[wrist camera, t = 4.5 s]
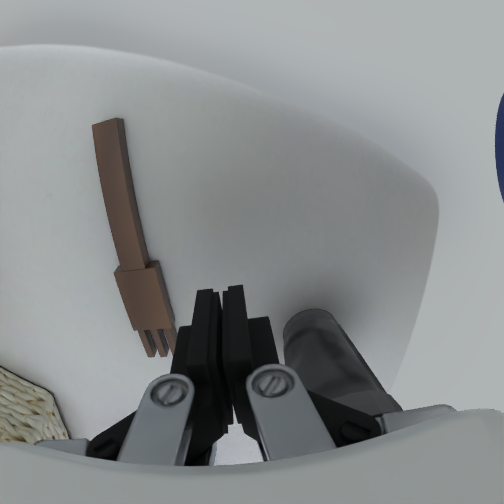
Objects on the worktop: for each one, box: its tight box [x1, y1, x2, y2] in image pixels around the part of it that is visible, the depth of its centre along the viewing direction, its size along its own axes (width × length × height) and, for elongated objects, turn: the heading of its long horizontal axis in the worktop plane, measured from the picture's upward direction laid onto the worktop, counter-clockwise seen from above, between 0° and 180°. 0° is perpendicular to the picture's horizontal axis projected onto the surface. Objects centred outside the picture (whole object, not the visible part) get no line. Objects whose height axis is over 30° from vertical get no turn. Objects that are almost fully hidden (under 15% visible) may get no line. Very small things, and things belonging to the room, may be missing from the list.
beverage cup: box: [283, 309, 403, 418], centre depth 13 cm, size 7×7×20 cm
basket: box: [0, 367, 69, 445], centre depth 20 cm, size 24×16×15 cm
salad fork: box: [92, 118, 177, 357], centre depth 19 cm, size 3×18×1 cm, turn 6°
